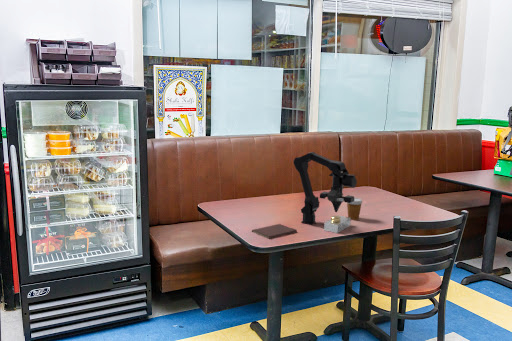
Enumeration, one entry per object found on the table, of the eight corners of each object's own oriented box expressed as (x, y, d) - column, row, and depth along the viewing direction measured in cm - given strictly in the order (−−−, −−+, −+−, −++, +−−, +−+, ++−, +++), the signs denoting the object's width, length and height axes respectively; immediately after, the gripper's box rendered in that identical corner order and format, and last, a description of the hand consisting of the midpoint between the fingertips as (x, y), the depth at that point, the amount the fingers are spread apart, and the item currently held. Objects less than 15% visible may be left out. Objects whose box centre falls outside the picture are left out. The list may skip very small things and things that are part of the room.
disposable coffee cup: (343, 219, 289) (344, 200, 286) (347, 215, 297) (348, 196, 295) (359, 221, 285) (360, 202, 283) (362, 217, 293) (364, 198, 291)
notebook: (251, 232, 263) (251, 229, 262) (279, 226, 275) (279, 223, 274) (269, 240, 251) (269, 236, 251) (296, 233, 263) (297, 229, 263)
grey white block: (324, 230, 267) (324, 222, 266) (337, 222, 282) (338, 215, 281) (337, 233, 263) (337, 225, 262) (350, 225, 277) (350, 217, 277)
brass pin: (329, 228, 269) (329, 217, 268) (332, 226, 273) (333, 215, 272) (337, 230, 266) (338, 218, 265) (341, 227, 270) (342, 216, 269)
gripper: (315, 185, 264) (314, 212, 266) (347, 189, 253) (345, 218, 256) (324, 181, 273) (323, 208, 276) (355, 186, 263) (353, 213, 265)
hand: (336, 212), depth 268 cm, fingers closed
